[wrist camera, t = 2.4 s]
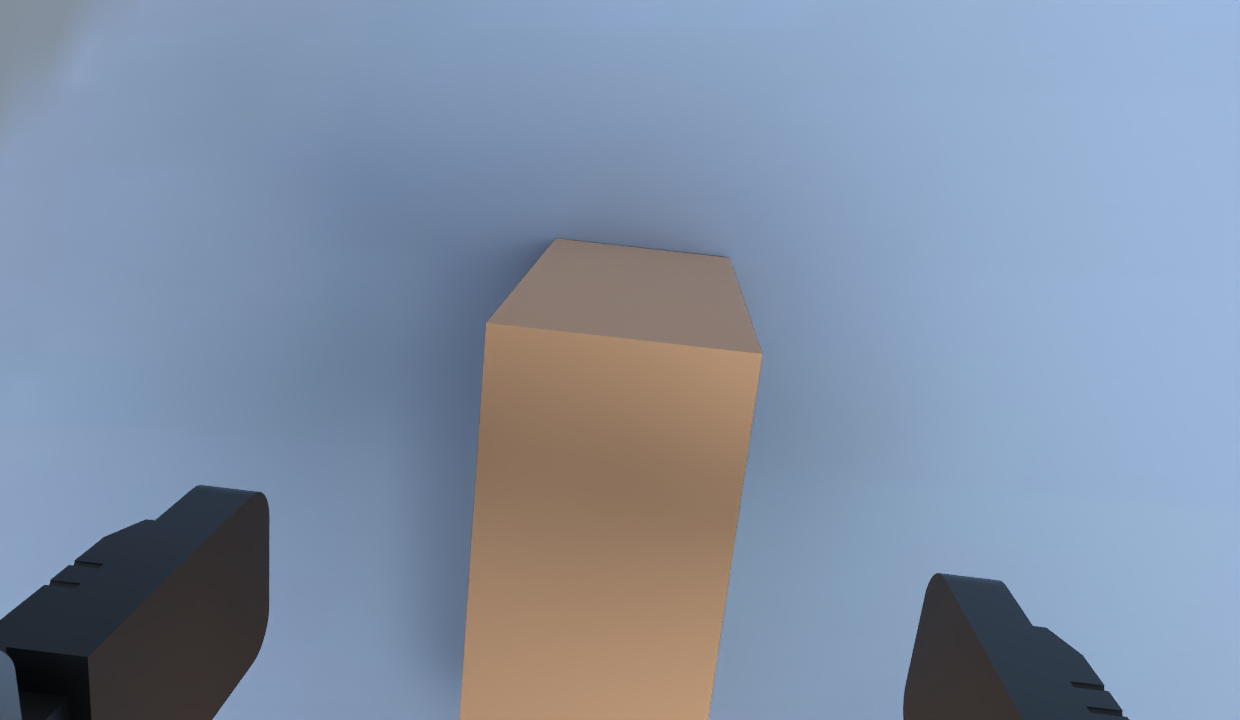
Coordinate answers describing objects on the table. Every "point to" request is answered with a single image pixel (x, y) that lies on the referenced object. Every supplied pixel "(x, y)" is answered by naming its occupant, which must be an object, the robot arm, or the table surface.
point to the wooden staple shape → (607, 486)
